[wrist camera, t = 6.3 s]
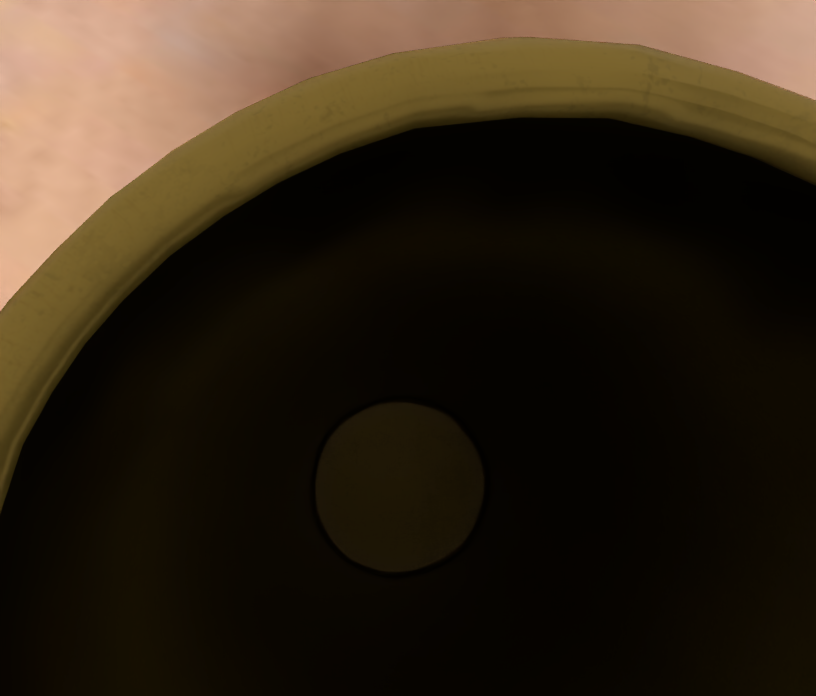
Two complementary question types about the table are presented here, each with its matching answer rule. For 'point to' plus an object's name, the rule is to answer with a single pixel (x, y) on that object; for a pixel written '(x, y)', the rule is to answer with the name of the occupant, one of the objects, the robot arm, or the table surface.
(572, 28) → the table surface
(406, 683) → the vase
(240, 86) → the table surface
